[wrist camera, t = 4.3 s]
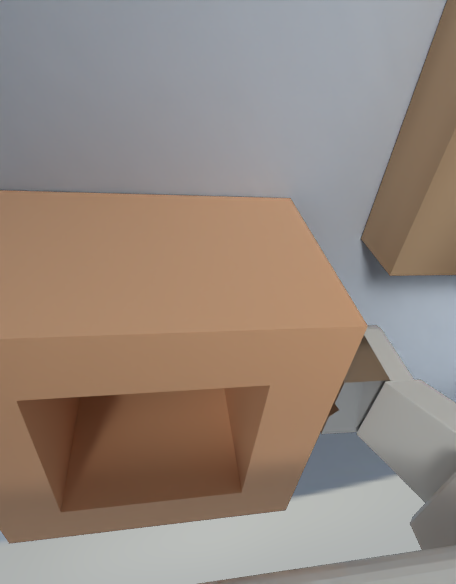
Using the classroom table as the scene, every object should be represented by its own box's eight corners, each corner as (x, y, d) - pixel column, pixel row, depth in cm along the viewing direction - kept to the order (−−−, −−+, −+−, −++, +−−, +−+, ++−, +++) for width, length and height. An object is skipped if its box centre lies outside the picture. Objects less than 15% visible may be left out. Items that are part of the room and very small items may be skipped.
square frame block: (48, 386, 11) (9, 543, 8) (-11, 189, 7) (-126, 342, 4) (252, 375, 12) (285, 509, 9) (290, 198, 8) (367, 326, 5)
